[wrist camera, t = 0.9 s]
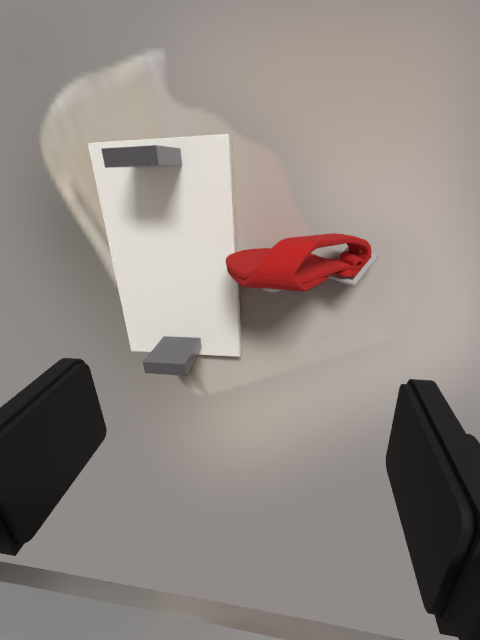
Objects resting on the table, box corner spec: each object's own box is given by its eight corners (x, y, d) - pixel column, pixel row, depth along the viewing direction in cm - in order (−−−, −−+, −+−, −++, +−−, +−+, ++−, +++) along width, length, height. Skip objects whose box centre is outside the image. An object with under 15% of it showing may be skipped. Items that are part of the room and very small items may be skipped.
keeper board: (231, 135, 26) (213, 127, 21) (241, 350, 35) (230, 385, 29) (95, 143, 29) (46, 138, 23) (136, 345, 37) (107, 377, 31)
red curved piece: (235, 265, 31) (209, 306, 22) (236, 217, 29) (208, 239, 20) (369, 275, 29) (399, 323, 20) (379, 224, 28) (417, 252, 19)
